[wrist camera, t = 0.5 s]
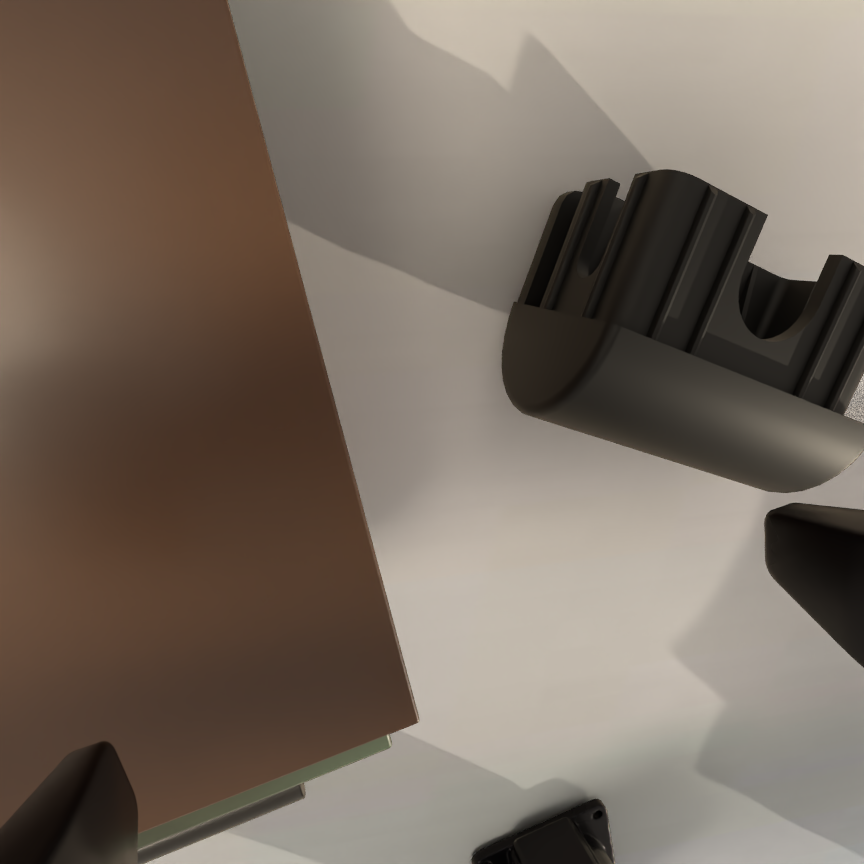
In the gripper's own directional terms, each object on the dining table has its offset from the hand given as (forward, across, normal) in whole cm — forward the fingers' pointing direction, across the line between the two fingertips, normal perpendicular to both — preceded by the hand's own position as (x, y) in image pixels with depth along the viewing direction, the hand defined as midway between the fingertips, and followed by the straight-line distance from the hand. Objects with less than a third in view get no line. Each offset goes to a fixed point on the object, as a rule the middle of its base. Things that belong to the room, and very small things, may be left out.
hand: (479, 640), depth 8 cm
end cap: (+14, -11, 0) cm, 18 cm away
